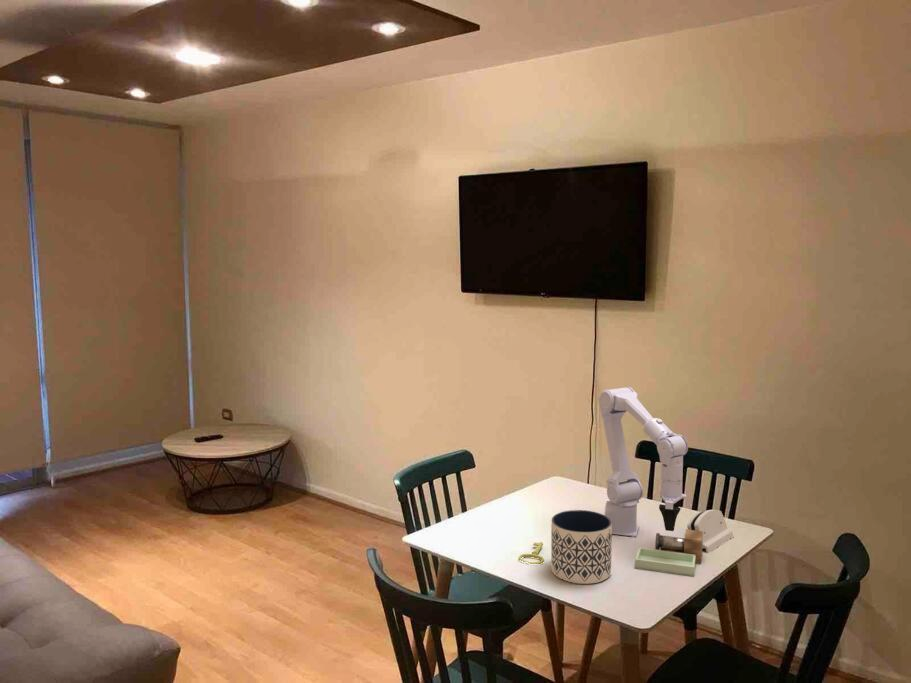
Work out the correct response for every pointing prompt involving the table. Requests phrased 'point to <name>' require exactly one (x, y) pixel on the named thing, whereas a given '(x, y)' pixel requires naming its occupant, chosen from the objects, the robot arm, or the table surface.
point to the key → (534, 554)
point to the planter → (581, 546)
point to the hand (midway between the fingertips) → (670, 525)
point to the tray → (665, 561)
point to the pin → (669, 542)
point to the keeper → (691, 544)
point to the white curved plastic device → (710, 528)
